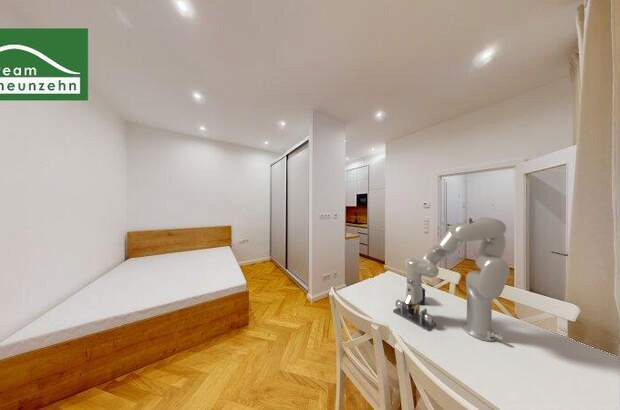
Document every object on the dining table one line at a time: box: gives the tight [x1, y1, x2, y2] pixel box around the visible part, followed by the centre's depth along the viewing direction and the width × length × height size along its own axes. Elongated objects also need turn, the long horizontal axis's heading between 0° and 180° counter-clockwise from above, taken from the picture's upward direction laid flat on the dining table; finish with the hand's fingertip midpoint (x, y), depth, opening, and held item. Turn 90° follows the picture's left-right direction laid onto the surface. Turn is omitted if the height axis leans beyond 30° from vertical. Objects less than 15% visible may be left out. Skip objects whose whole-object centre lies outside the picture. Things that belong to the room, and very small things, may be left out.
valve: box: [410, 300, 420, 316], centre depth 109 cm, size 5×5×7 cm
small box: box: [420, 286, 426, 306], centre depth 128 cm, size 11×6×10 cm, turn 179°
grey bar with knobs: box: [392, 299, 437, 332], centre depth 109 cm, size 20×9×7 cm, turn 33°
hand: (413, 312), depth 109 cm, fingers closed on valve, 5 cm apart
